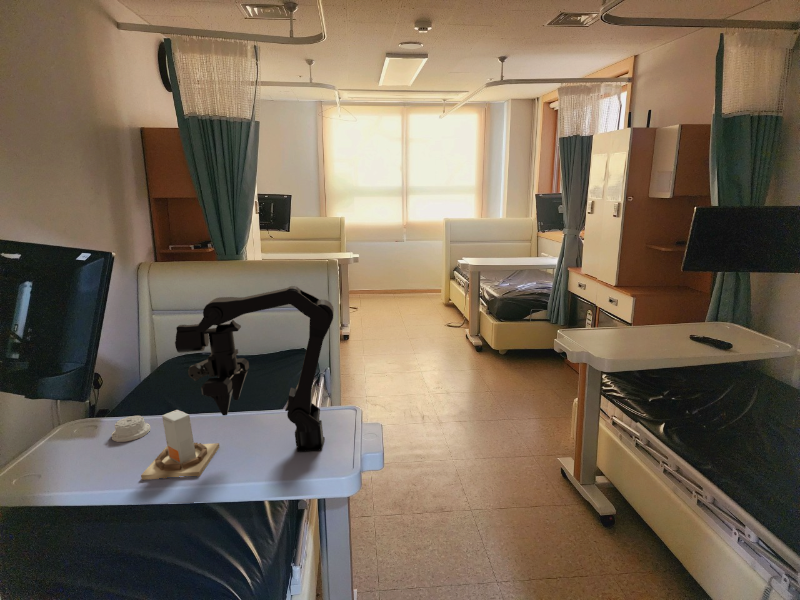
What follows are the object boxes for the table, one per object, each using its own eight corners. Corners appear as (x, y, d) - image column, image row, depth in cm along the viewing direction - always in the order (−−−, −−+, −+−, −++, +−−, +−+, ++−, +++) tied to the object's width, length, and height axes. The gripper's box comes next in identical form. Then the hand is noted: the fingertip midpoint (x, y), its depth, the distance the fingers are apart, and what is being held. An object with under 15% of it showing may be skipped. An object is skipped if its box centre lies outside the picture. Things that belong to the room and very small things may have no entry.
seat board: (219, 447, 133) (218, 439, 133) (199, 476, 120) (198, 467, 119) (167, 450, 133) (166, 442, 133) (141, 479, 119) (140, 470, 119)
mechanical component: (104, 442, 141) (134, 443, 139) (101, 427, 140) (131, 429, 138) (129, 426, 150) (158, 427, 148) (126, 412, 149) (155, 413, 147)
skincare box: (168, 458, 126) (161, 415, 124) (184, 451, 130) (177, 408, 127) (181, 465, 123) (173, 420, 120) (197, 458, 126) (190, 414, 123)
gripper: (204, 340, 132) (212, 394, 136) (174, 363, 114) (184, 425, 117) (246, 337, 132) (252, 392, 136) (222, 360, 114) (231, 423, 117)
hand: (230, 407), depth 127 cm, fingers open, 9 cm apart
